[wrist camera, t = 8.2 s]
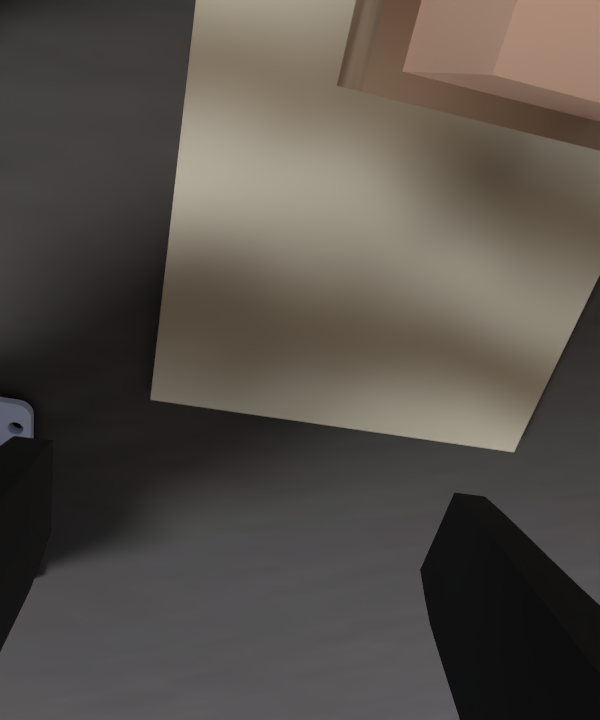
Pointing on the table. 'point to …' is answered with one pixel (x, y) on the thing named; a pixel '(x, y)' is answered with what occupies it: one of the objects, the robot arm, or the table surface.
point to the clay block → (513, 50)
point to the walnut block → (385, 79)
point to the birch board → (362, 243)
